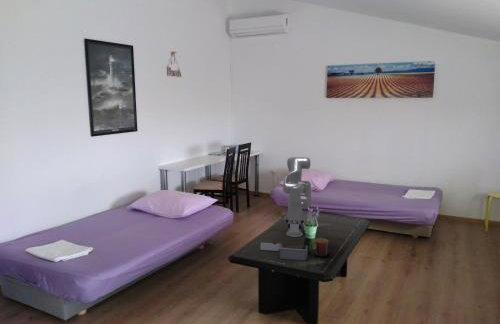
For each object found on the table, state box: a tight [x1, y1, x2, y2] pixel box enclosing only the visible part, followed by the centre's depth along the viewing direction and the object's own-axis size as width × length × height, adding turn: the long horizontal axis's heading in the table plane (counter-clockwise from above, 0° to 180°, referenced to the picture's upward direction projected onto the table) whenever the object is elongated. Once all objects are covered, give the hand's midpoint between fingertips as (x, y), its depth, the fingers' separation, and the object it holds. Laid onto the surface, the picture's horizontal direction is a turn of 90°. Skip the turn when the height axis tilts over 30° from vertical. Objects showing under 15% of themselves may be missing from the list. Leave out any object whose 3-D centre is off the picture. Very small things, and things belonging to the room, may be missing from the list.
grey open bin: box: [278, 243, 308, 261], centre depth 265 cm, size 12×18×7 cm, turn 80°
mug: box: [310, 237, 329, 258], centre depth 266 cm, size 12×9×10 cm
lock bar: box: [260, 241, 281, 252], centre depth 275 cm, size 2×14×6 cm, turn 80°
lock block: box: [290, 220, 299, 233], centre depth 271 cm, size 8×6×6 cm
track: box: [258, 248, 279, 253], centre depth 276 cm, size 3×14×1 cm, turn 80°
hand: (294, 229), depth 271 cm, fingers closed on lock block, 6 cm apart
